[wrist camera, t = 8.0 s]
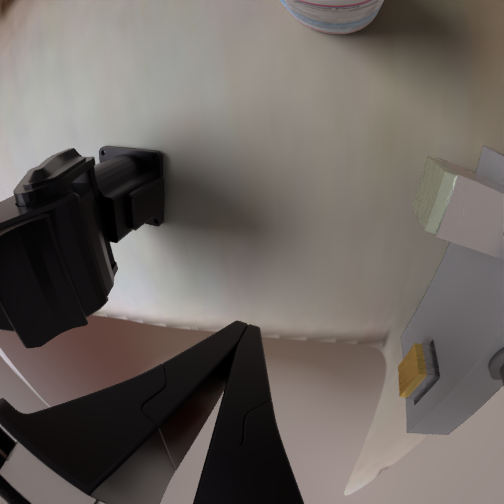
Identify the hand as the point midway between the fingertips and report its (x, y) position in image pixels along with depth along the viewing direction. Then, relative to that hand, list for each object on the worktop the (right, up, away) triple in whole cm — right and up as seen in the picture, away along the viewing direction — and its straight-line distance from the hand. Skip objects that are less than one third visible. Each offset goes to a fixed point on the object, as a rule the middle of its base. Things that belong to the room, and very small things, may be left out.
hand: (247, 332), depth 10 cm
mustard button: (+15, -6, +8) cm, 18 cm away
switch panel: (+17, +2, +9) cm, 19 cm away
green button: (+12, +5, +2) cm, 14 cm away
